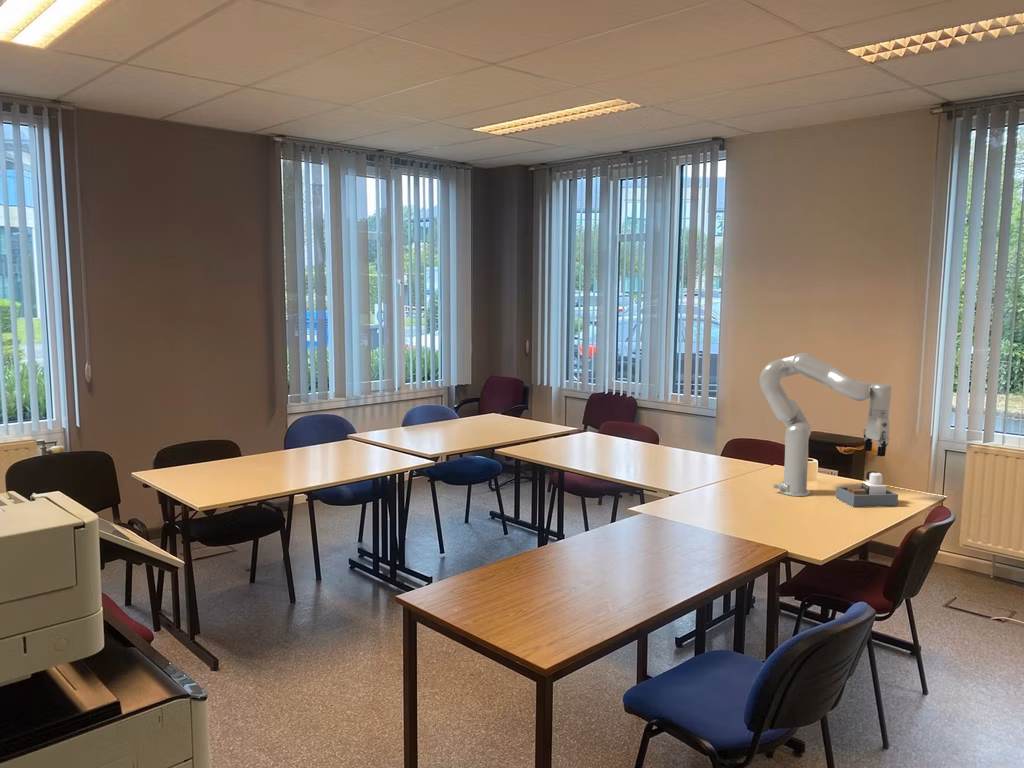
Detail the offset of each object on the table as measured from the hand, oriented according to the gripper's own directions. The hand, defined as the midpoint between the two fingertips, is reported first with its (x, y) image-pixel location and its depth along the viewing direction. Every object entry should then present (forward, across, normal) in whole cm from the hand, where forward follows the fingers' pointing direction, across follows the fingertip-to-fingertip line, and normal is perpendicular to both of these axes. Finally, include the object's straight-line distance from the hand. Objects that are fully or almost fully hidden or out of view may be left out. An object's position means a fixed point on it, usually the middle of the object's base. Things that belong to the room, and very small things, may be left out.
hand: (874, 453), depth 308 cm
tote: (+21, -1, +2) cm, 21 cm away
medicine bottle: (+20, -1, -1) cm, 20 cm away
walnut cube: (+20, -1, +6) cm, 21 cm away
